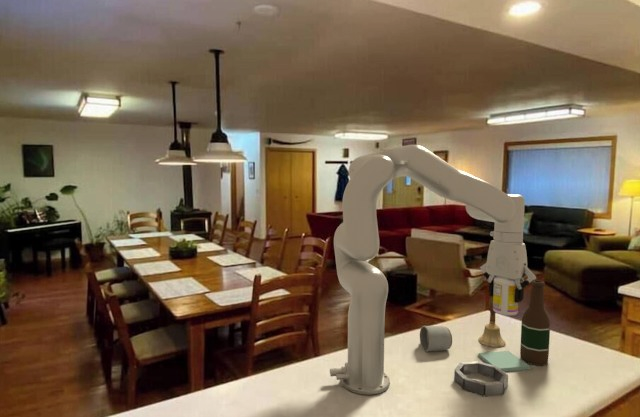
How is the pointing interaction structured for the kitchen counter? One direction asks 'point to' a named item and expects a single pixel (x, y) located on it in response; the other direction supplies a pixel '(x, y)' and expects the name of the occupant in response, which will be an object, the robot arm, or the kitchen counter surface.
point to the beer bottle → (535, 328)
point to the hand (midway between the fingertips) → (505, 298)
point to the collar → (478, 386)
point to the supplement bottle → (504, 296)
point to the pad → (504, 360)
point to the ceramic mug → (435, 338)
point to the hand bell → (492, 331)
